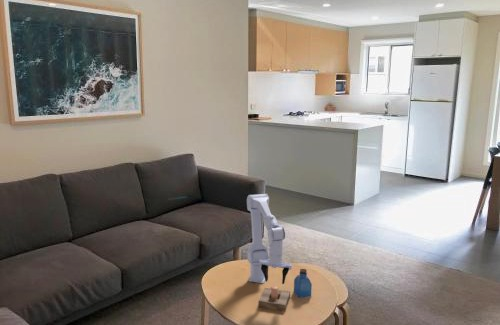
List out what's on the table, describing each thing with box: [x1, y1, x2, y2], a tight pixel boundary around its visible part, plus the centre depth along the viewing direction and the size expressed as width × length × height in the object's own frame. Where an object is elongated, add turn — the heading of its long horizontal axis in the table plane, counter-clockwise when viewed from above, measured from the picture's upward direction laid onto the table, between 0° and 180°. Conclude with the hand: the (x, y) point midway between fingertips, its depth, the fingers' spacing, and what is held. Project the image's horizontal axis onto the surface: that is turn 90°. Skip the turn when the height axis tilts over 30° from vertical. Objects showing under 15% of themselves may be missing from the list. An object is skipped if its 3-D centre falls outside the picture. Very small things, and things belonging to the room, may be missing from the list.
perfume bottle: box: [293, 268, 312, 299], centre depth 187 cm, size 6×6×12 cm
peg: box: [270, 285, 279, 299], centre depth 180 cm, size 3×3×7 cm
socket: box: [258, 287, 291, 312], centre depth 180 cm, size 12×12×3 cm
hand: (275, 281), depth 179 cm, fingers open, 7 cm apart
